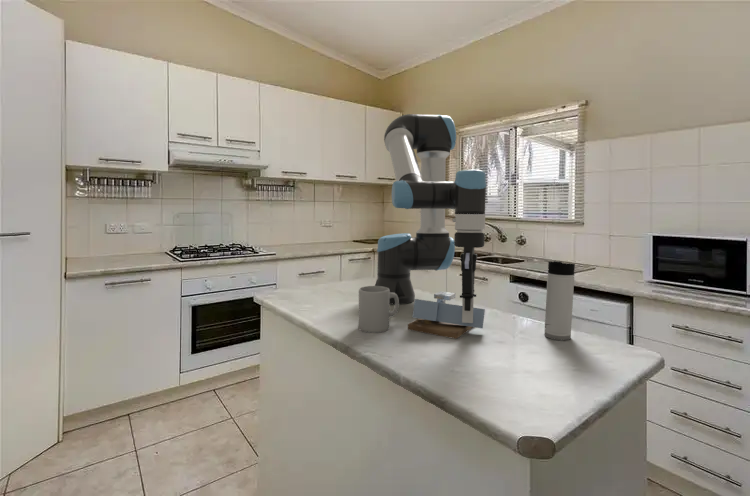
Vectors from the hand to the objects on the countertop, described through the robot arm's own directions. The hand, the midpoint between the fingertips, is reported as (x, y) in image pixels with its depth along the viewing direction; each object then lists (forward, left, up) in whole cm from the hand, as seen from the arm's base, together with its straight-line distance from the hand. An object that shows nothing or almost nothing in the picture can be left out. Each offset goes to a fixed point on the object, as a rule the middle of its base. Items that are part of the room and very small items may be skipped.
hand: (467, 322), depth 107 cm
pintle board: (-2, -8, -4) cm, 9 cm away
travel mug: (-12, +20, -4) cm, 24 cm away
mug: (+7, -23, -4) cm, 24 cm away
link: (-1, -6, -1) cm, 6 cm away
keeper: (-6, -9, -2) cm, 11 cm away
